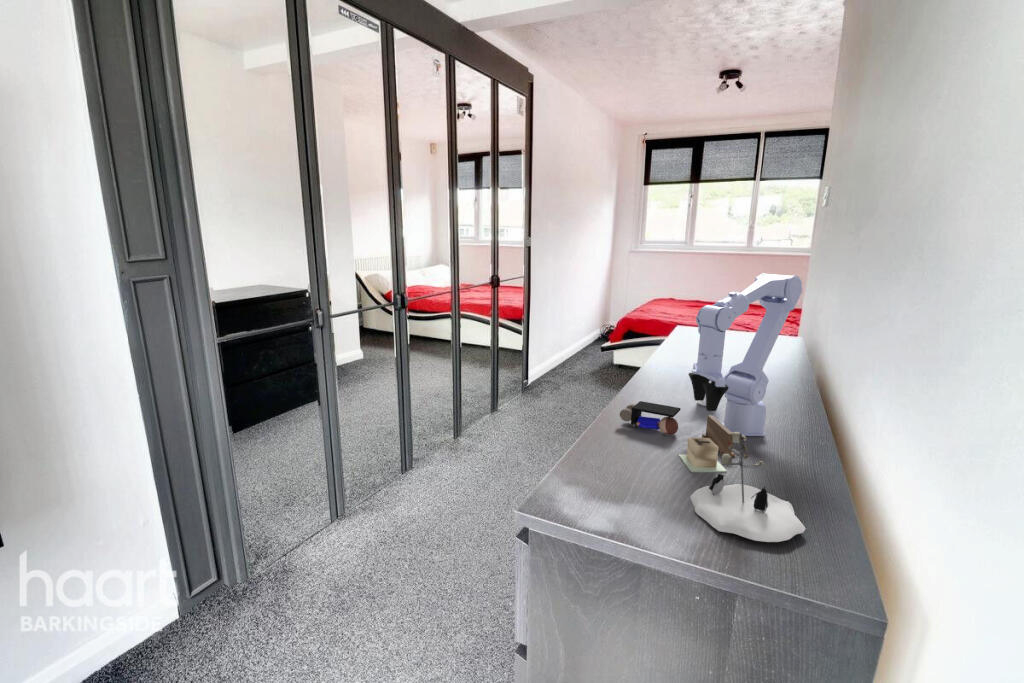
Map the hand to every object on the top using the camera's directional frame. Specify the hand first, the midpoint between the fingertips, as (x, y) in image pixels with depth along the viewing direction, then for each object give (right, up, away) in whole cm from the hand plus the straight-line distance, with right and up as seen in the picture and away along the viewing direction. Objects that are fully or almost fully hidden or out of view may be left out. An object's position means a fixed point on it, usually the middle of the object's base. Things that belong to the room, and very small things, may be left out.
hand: (704, 405), depth 119 cm
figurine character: (-12, -8, +9) cm, 17 cm away
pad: (-5, -12, -10) cm, 17 cm away
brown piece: (+3, -10, -1) cm, 11 cm away
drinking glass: (+13, -4, +30) cm, 32 cm away
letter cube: (-5, -12, -10) cm, 17 cm away
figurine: (-5, -17, -30) cm, 35 cm away
